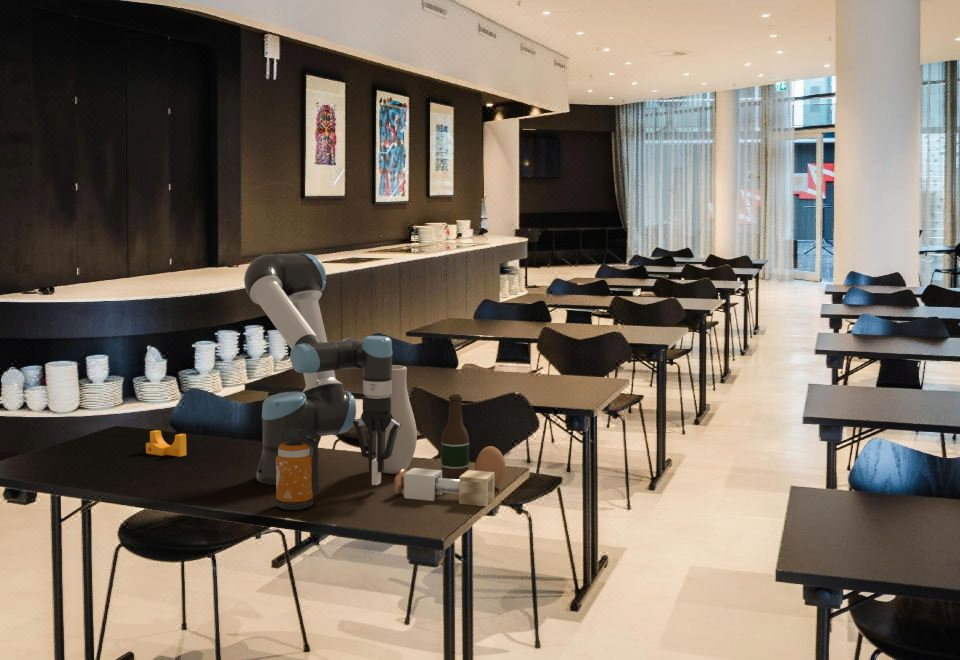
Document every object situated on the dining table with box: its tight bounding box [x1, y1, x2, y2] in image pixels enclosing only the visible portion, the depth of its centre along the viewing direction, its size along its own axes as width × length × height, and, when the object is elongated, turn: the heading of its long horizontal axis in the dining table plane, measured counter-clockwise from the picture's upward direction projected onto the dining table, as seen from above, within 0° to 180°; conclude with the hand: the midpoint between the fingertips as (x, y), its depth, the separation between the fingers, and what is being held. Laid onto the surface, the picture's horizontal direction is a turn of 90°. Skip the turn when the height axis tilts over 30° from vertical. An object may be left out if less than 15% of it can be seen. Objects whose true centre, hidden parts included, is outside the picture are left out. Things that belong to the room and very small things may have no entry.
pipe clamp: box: [145, 429, 188, 457], centre depth 313 cm, size 12×4×6 cm, turn 63°
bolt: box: [393, 469, 459, 495], centre depth 268 cm, size 24×6×6 cm, turn 73°
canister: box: [275, 427, 322, 511], centre depth 258 cm, size 9×11×20 cm
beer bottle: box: [440, 393, 470, 480], centre depth 284 cm, size 8×8×24 cm
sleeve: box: [403, 467, 443, 502], centre depth 270 cm, size 8×7×6 cm
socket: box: [458, 469, 495, 507], centre depth 265 cm, size 7×7×7 cm
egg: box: [474, 445, 507, 488], centre depth 279 cm, size 8×8×11 cm
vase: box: [375, 364, 418, 475], centre depth 293 cm, size 14×14×30 cm
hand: (376, 483), depth 274 cm, fingers closed
